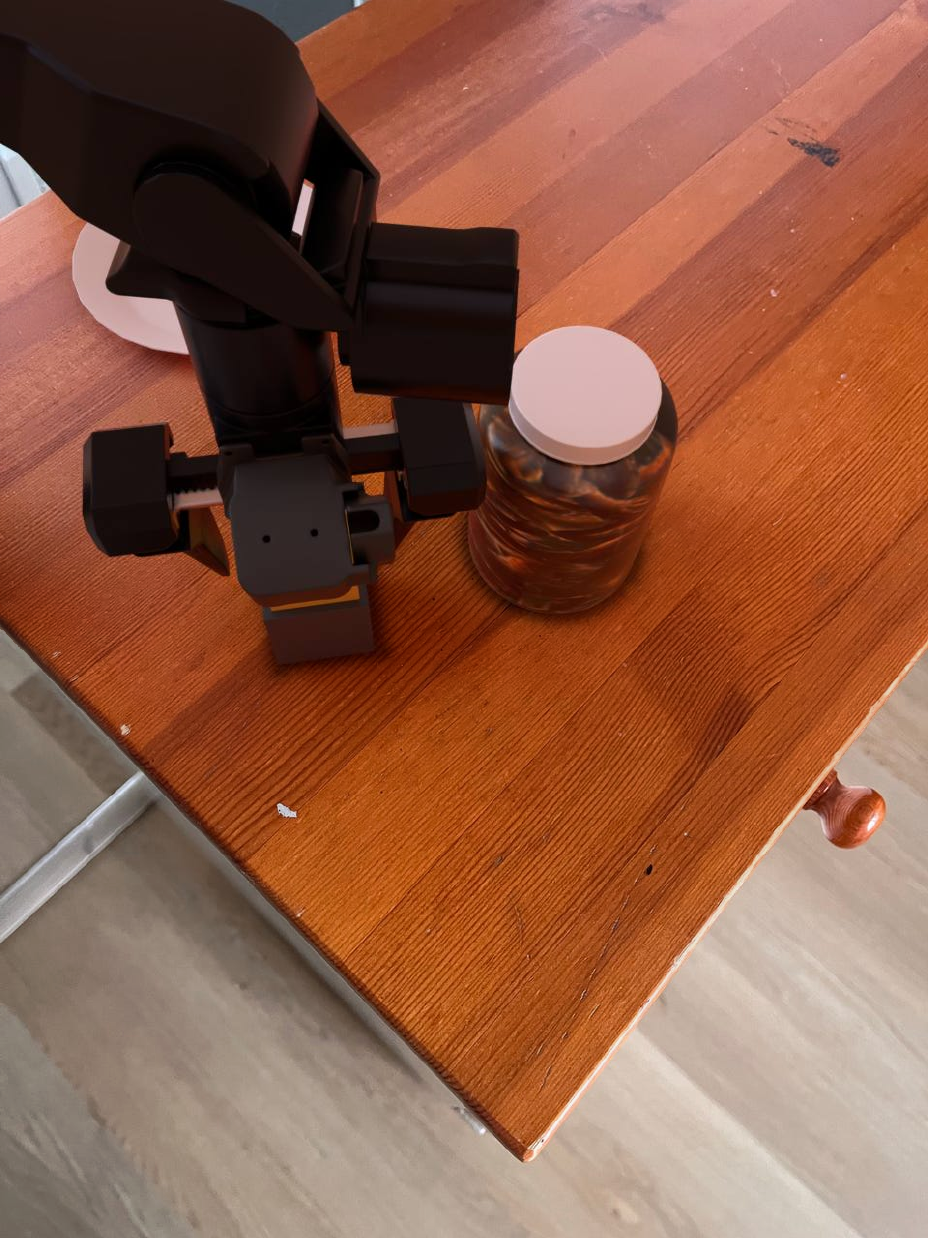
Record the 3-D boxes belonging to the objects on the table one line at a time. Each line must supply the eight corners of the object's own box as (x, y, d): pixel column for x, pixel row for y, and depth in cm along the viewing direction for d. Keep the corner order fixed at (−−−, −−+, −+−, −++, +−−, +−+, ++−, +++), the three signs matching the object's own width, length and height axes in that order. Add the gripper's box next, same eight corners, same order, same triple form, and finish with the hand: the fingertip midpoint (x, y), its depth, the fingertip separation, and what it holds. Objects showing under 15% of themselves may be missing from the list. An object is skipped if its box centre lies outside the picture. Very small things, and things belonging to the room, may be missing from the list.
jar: (673, 563, 60) (742, 415, 47) (529, 644, 57) (560, 510, 44) (571, 442, 65) (609, 275, 51) (432, 511, 61) (434, 352, 48)
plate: (170, 420, 64) (162, 398, 62) (34, 254, 71) (23, 230, 69) (403, 294, 71) (402, 271, 69) (257, 154, 78) (252, 130, 76)
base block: (278, 665, 56) (263, 620, 50) (270, 582, 58) (255, 531, 53) (375, 651, 56) (369, 605, 51) (362, 570, 59) (356, 518, 54)
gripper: (23, 556, 33) (143, 714, 46) (525, 491, 35) (496, 661, 49) (34, 331, 38) (139, 534, 51) (472, 287, 40) (460, 494, 54)
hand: (308, 558), depth 51 cm, fingers open, 9 cm apart
